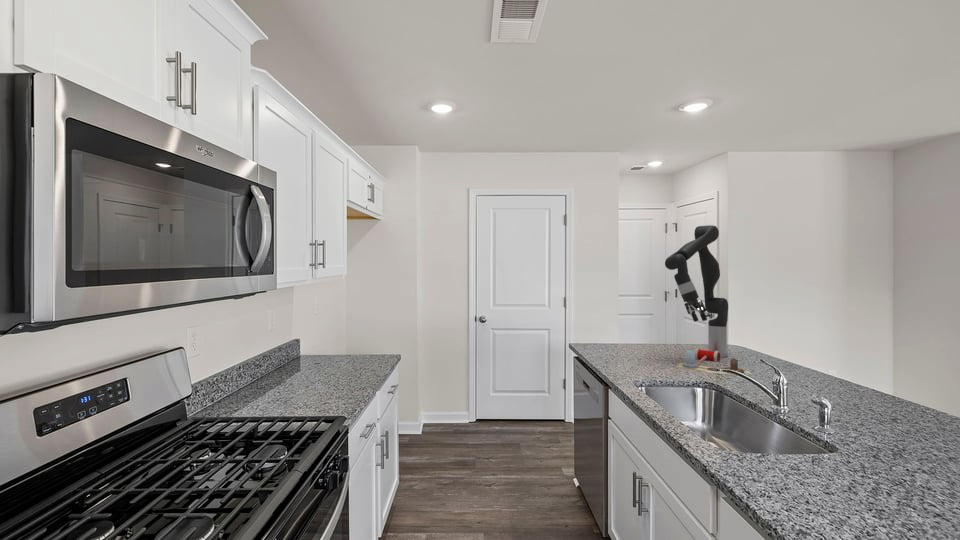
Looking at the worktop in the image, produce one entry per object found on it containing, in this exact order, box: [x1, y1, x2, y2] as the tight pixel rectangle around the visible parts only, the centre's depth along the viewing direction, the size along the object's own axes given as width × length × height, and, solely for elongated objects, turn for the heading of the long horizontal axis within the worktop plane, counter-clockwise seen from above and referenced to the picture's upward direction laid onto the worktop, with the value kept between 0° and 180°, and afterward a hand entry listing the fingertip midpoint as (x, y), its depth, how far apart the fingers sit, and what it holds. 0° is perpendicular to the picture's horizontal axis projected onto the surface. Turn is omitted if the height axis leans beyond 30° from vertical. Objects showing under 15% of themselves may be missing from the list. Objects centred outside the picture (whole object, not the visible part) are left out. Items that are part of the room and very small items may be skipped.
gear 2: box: [723, 357, 745, 373], centre depth 208 cm, size 8×8×7 cm
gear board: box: [674, 362, 751, 377], centre depth 214 cm, size 13×31×1 cm, turn 54°
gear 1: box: [681, 349, 700, 368], centre depth 220 cm, size 7×7×8 cm
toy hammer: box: [694, 347, 721, 365], centre depth 233 cm, size 23×12×6 cm, turn 138°
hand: (700, 320), depth 226 cm, fingers open, 8 cm apart
